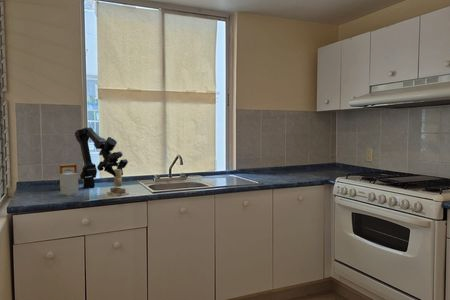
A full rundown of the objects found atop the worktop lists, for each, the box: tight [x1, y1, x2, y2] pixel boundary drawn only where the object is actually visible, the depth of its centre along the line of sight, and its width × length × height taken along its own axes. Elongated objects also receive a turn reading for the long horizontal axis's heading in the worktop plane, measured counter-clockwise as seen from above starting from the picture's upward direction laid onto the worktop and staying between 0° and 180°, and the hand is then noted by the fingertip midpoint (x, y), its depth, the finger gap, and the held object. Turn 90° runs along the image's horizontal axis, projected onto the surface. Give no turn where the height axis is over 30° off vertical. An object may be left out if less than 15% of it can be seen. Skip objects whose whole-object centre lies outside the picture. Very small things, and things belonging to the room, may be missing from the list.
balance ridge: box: [106, 186, 130, 197], centre depth 206 cm, size 11×8×4 cm
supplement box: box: [59, 172, 80, 197], centre depth 204 cm, size 7×7×13 cm
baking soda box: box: [58, 163, 78, 190], centre depth 222 cm, size 10×6×16 cm
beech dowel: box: [113, 168, 123, 188], centre depth 206 cm, size 4×4×10 cm
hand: (119, 175), depth 205 cm, fingers closed on beech dowel, 4 cm apart
